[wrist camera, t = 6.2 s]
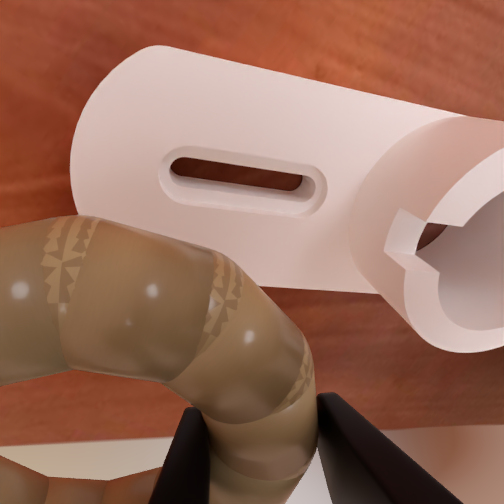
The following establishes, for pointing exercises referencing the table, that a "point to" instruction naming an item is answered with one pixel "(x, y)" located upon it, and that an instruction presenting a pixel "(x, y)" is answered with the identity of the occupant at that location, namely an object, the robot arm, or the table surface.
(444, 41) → the table surface
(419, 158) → the bracket
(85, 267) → the segmented ring
